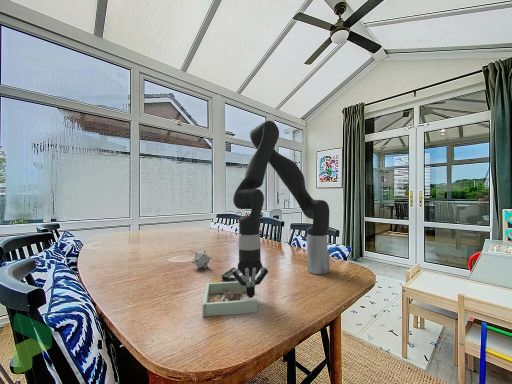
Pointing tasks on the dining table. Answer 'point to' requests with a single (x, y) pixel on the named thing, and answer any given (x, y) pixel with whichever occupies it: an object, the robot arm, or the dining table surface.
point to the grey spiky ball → (201, 260)
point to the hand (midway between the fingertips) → (250, 296)
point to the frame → (227, 306)
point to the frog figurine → (229, 295)
